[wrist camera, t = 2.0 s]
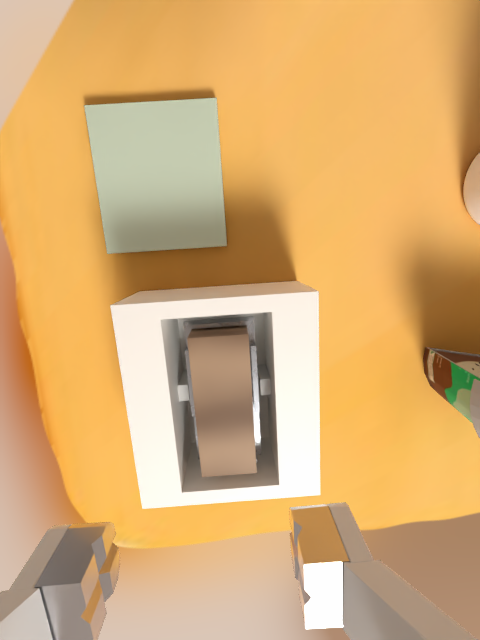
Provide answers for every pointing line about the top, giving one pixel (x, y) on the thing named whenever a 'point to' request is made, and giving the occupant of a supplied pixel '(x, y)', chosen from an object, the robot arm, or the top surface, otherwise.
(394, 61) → the top surface
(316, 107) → the top surface
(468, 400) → the food container
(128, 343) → the pocket jig
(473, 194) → the pill bottle
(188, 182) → the sage pad
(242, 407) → the walnut slab
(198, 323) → the cradle
